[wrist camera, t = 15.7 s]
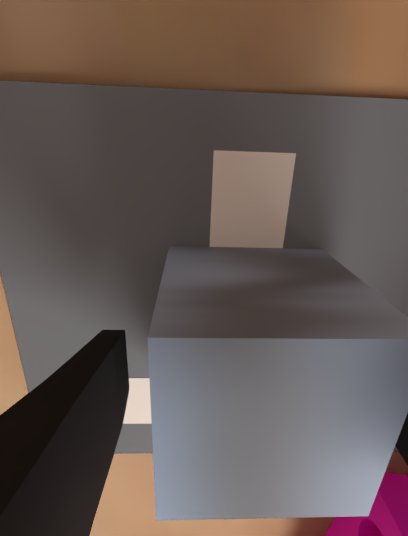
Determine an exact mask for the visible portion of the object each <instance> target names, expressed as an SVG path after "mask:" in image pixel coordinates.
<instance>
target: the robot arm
mask: <svg viewBox="0 0 408 536" xmlns="http://www.w3.org/2000/svg"><path fill="white" fill-rule="evenodd" d="M128 394H129V375H128V362H127V348H126V334H125V330H102V331H101V332H99V333H98V334H97V335H96V336H95V337H94V338H93V339H91V340H90V341H89V342H88V343H87V344H86V345H85V346H84V347H82V348H81V349H80V350H79V351H78V352H77V353H76V354H75V355H73V356H72V357H71V358H70V359H69V360H68V361H67V362H66V363H64V364H63V365H62V366H61V367H60V368H59V369H57V370H56V371H55V372H54V373H53V374H52V375H50V376H49V377H48V378H47V379H46V380H45V381H43V382H42V383H41V384H40V385H38V386H37V387H36V388H34V389H33V390H32V391H31V392H29V393H28V394H27V395H26V396H24V397H23V398H22V399H21V400H19V401H18V402H17V403H16V404H14V405H13V406H12V407H10V408H9V409H8V410H7V411H5V412H4V413H3V414H1V415H0V536H89V535H90V531H91V528H92V524H93V520H94V517H95V514H96V511H97V507H98V504H99V501H100V498H101V494H102V491H103V488H104V485H105V481H106V478H107V475H108V472H109V468H110V465H111V462H112V459H113V455H114V452H115V449H116V445H117V442H118V439H119V435H120V432H121V429H122V425H123V420H124V415H125V410H126V405H127V399H128ZM395 446H396V448H397V449H398V451H399V453H400V454H401V456H402V457H403V459H404V460H405V462H406V463H407V465H408V413H407V416H406V419H405V421H404V424H403V426H402V429H401V432H400V434H399V437H398V440H397V442H396V445H395Z"/></svg>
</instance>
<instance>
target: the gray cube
mask: <svg viewBox="0 0 408 536" xmlns="http://www.w3.org/2000/svg"><path fill="white" fill-rule="evenodd" d="M148 358H149V379H150V400H151V422H152V443H153V464H154V486H155V507H156V521H157V520H206V519H256V518H305V517H354V516H369V513H370V511H371V508H372V505H373V503H374V500H375V497H376V495H377V492H378V490H379V487H380V484H381V482H382V479H383V476H384V474H385V471H386V468H387V466H388V463H389V461H390V458H391V455H392V453H393V450H394V447H395V445H396V442H397V440H398V437H399V434H400V432H401V429H402V426H403V424H404V421H405V419H406V416H407V413H408V317H407V316H406V315H404V314H403V313H402V312H401V311H399V310H398V309H397V308H396V307H394V306H393V305H392V304H391V303H389V302H388V301H387V300H385V299H384V298H383V297H382V296H380V295H379V294H378V293H377V292H375V291H374V290H373V289H372V288H370V287H369V286H368V285H367V284H365V283H364V282H363V281H362V280H360V279H359V278H358V277H357V276H355V275H354V274H353V273H352V272H350V271H349V270H348V269H347V268H345V267H344V266H343V265H342V264H340V263H339V262H338V261H337V260H335V259H334V258H333V257H332V256H330V255H329V254H328V253H327V252H325V251H324V250H323V249H301V248H247V247H194V246H169V249H168V254H167V258H166V262H165V266H164V270H163V275H162V279H161V283H160V287H159V292H158V296H157V300H156V304H155V309H154V313H153V317H152V321H151V325H150V330H149V334H148Z"/></svg>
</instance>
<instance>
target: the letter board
mask: <svg viewBox="0 0 408 536" xmlns="http://www.w3.org/2000/svg"><path fill="white" fill-rule="evenodd" d="M169 246H194V247H247V248H301V249H323V250H324V251H325V252H327V253H328V254H329V255H330V256H332V257H333V258H334V259H335V260H337V261H338V262H339V263H340V264H342V265H343V266H344V267H345V268H347V269H348V270H349V271H350V272H352V273H353V274H354V275H355V276H357V277H358V278H359V279H360V280H362V281H363V282H364V283H365V284H367V285H368V286H369V287H370V288H372V289H373V290H374V291H375V292H377V293H378V294H379V295H380V296H382V297H383V298H384V299H385V300H387V301H388V302H389V303H391V304H392V305H393V306H394V307H396V308H397V309H398V310H399V311H401V312H402V313H403V314H404V315H406V316H407V317H408V99H389V98H368V97H346V96H325V95H303V94H282V93H260V92H239V91H218V90H196V89H175V88H153V87H132V86H111V85H89V84H68V83H46V82H25V81H3V80H0V272H1V277H2V281H3V285H4V289H5V293H6V298H7V302H8V306H9V310H10V315H11V319H12V323H13V327H14V332H15V336H16V340H17V344H18V349H19V353H20V357H21V361H22V365H23V370H24V374H25V378H26V382H27V387H28V391H29V392H31V391H32V390H33V389H34V388H36V387H37V386H38V385H40V384H41V383H42V382H43V381H45V380H46V379H47V378H48V377H49V376H50V375H52V374H53V373H54V372H55V371H56V370H57V369H59V368H60V367H61V366H62V365H63V364H64V363H66V362H67V361H68V360H69V359H70V358H71V357H72V356H73V355H75V354H76V353H77V352H78V351H79V350H80V349H81V348H82V347H84V346H85V345H86V344H87V343H88V342H89V341H90V340H91V339H93V338H94V337H95V336H96V335H97V334H98V333H99V332H101V331H102V330H125V334H126V348H127V362H128V375H129V394H128V399H127V405H126V410H125V415H124V420H123V425H122V429H121V432H120V435H119V439H118V442H117V445H116V449H115V452H114V454H117V453H153V443H152V422H151V400H150V379H149V358H148V334H149V330H150V325H151V321H152V317H153V313H154V309H155V304H156V300H157V296H158V292H159V287H160V283H161V279H162V275H163V270H164V266H165V262H166V258H167V254H168V249H169ZM393 451H398V449H397V448H396V446H395V447H394V450H393Z"/></svg>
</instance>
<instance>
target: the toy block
mask: <svg viewBox="0 0 408 536" xmlns="http://www.w3.org/2000/svg"><path fill="white" fill-rule="evenodd" d="M324 536H408V475H402V474H395V473H388V472H385V474H384V476H383V479H382V482H381V484H380V487H379V490H378V492H377V495H376V497H375V500H374V503H373V505H372V508H371V511H370V513H369V516H354V517H336V518H335V519H334V521H333V522H332V524H331V525H330V527H329V529H328V530H327V532H326V533H325V535H324Z"/></svg>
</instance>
